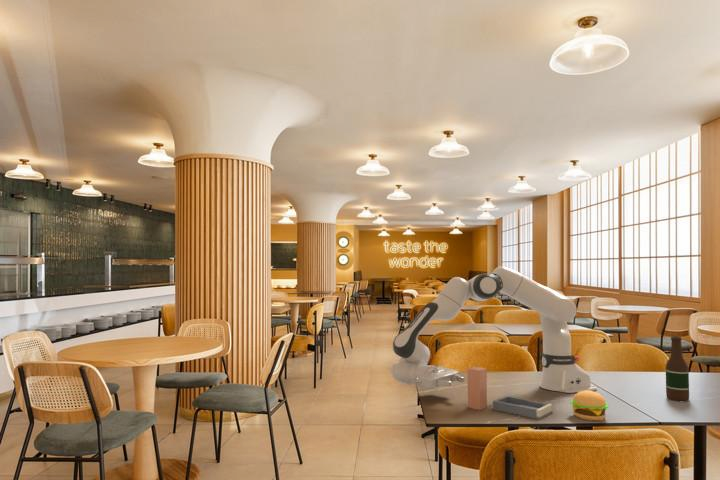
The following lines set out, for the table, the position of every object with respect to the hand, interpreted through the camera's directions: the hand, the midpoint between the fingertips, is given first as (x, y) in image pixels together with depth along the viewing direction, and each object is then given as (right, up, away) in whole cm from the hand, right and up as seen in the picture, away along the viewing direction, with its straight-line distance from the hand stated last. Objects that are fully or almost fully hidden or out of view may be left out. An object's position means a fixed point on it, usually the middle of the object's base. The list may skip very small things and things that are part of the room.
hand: (456, 381), depth 194 cm
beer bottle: (+86, -8, +5) cm, 87 cm away
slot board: (+21, -7, -11) cm, 25 cm away
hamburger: (+42, -7, -18) cm, 46 cm away
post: (+6, -8, -6) cm, 12 cm away
